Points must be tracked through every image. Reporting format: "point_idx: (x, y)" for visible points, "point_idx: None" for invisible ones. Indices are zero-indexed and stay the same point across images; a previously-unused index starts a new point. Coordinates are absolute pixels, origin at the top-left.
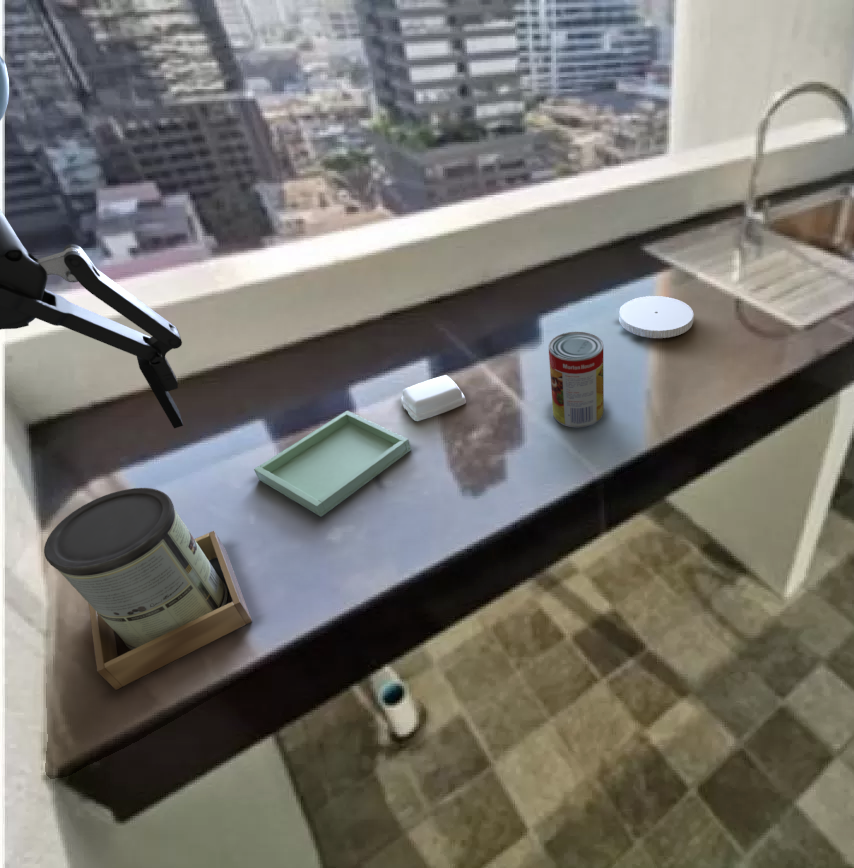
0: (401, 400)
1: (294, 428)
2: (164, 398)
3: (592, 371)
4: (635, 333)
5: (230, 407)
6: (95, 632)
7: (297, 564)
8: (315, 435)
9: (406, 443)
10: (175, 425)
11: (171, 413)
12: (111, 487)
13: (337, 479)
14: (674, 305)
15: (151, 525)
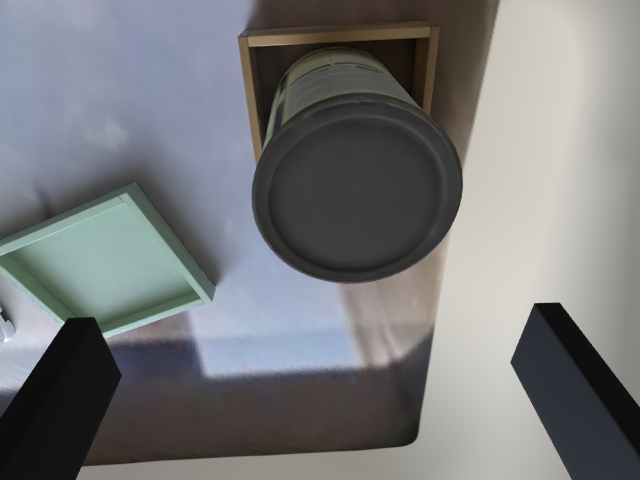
0: (9, 335)
1: (167, 348)
2: (10, 420)
3: None
4: None
5: (239, 405)
6: (426, 109)
7: (173, 107)
8: (129, 322)
9: None
10: (83, 324)
11: (53, 361)
12: (370, 349)
13: (106, 236)
14: None
15: (290, 163)
